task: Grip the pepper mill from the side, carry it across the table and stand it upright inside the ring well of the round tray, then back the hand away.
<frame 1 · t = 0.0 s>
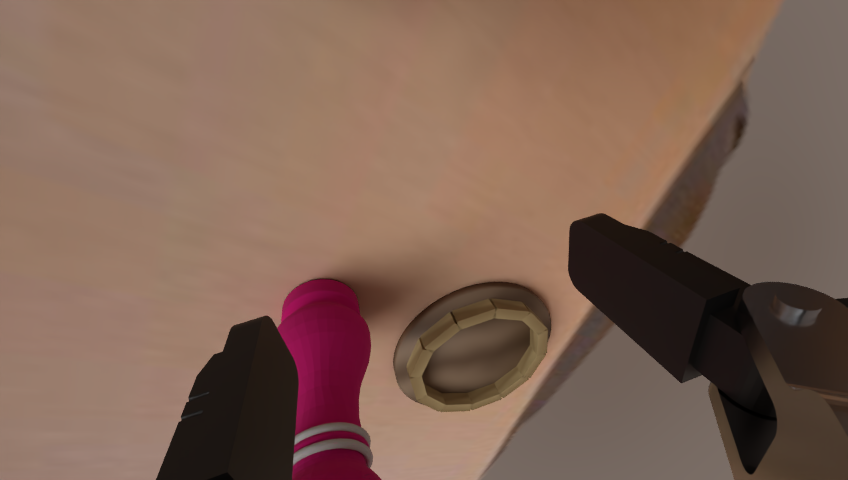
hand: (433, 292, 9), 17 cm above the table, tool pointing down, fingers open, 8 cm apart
pepper mill: (321, 305, 30), on the table
tray: (473, 347, 38), on the table
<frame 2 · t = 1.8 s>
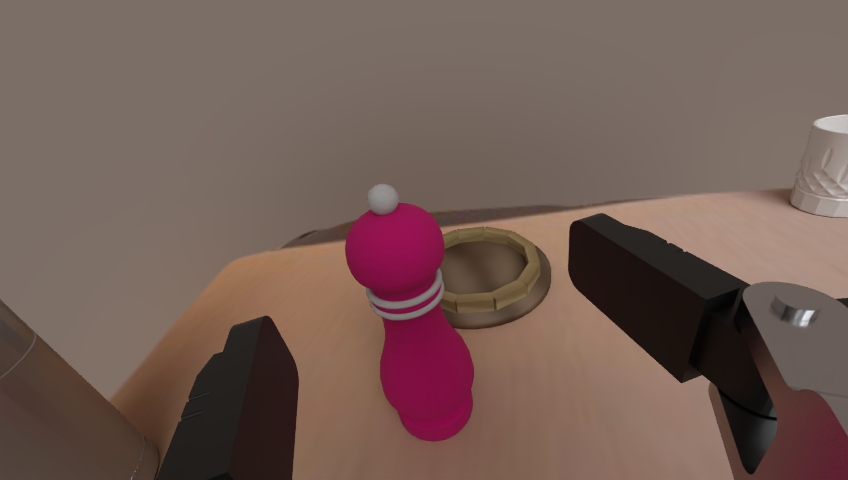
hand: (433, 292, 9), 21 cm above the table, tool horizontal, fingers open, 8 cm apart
pepper mill: (436, 405, 29), on the table
white cup: (826, 206, 43), on the table
tray: (474, 275, 43), on the table
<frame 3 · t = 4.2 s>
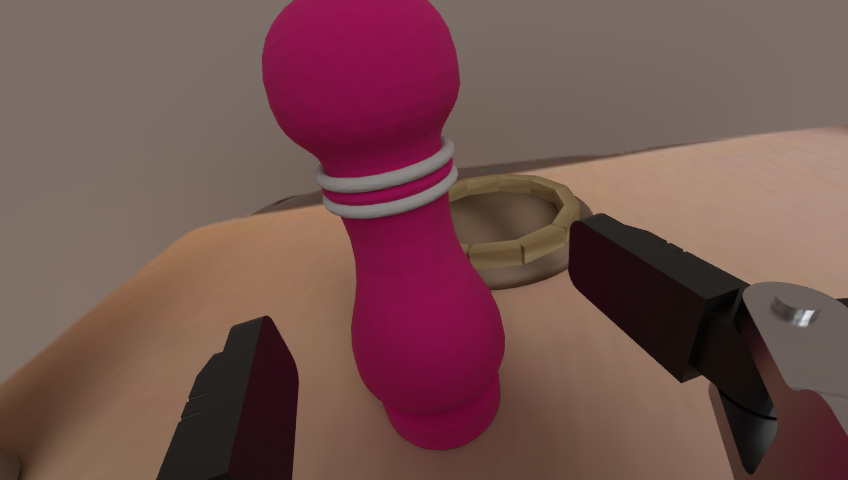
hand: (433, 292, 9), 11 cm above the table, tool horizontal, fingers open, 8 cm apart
pepper mill: (443, 394, 19), on the table
tray: (489, 229, 33), on the table
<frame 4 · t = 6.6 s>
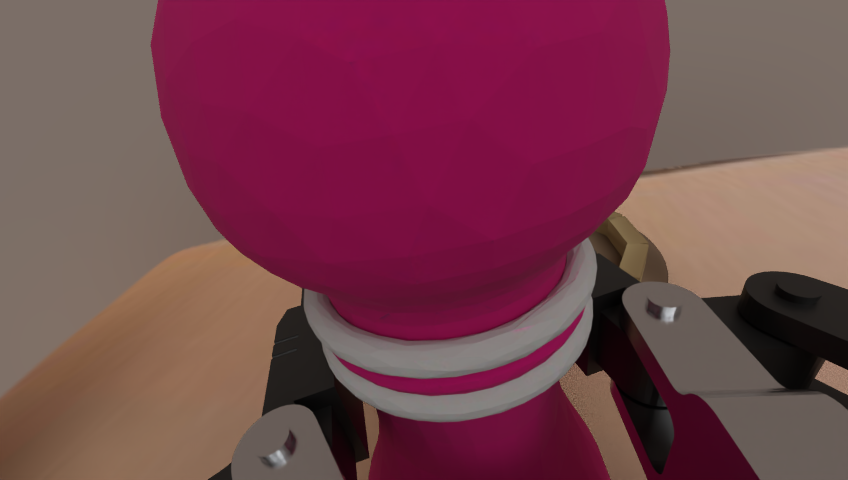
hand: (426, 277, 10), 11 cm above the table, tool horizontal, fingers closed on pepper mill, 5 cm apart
tray: (526, 267, 27), on the table
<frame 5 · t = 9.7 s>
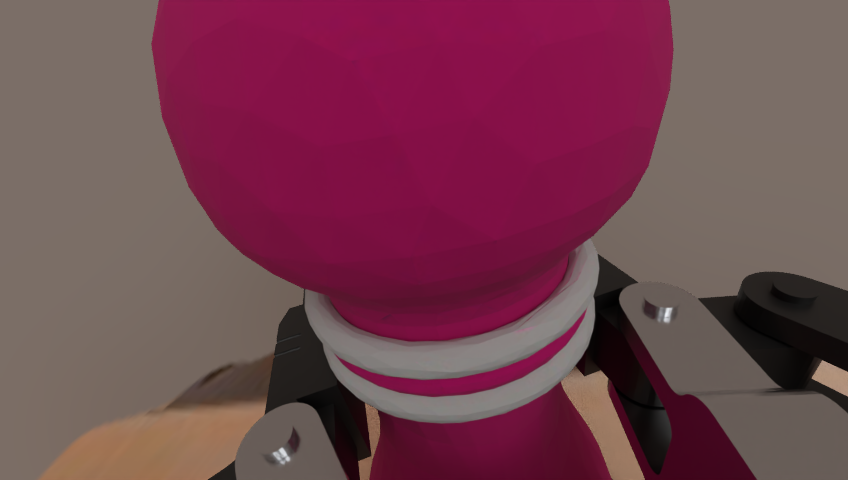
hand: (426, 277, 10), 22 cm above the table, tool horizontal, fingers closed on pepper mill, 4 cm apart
when the fingers open (13 cm above the table, at t = 12.3 s): pepper mill moves 3 cm, resting on tray.
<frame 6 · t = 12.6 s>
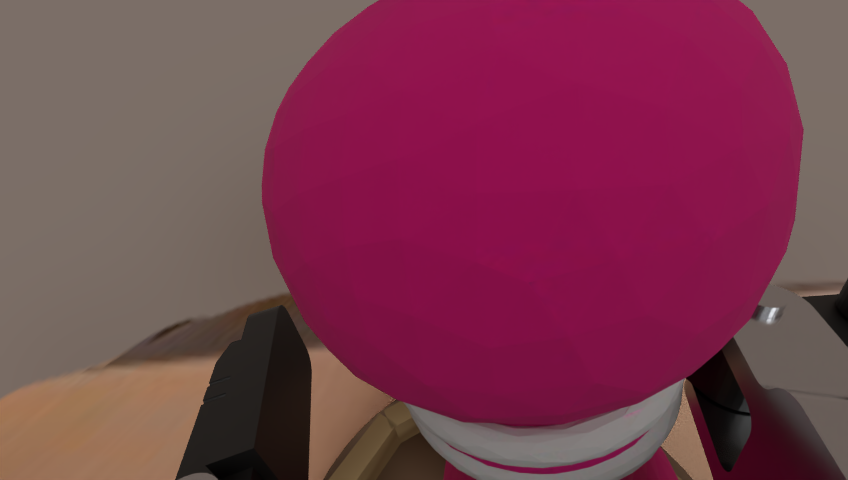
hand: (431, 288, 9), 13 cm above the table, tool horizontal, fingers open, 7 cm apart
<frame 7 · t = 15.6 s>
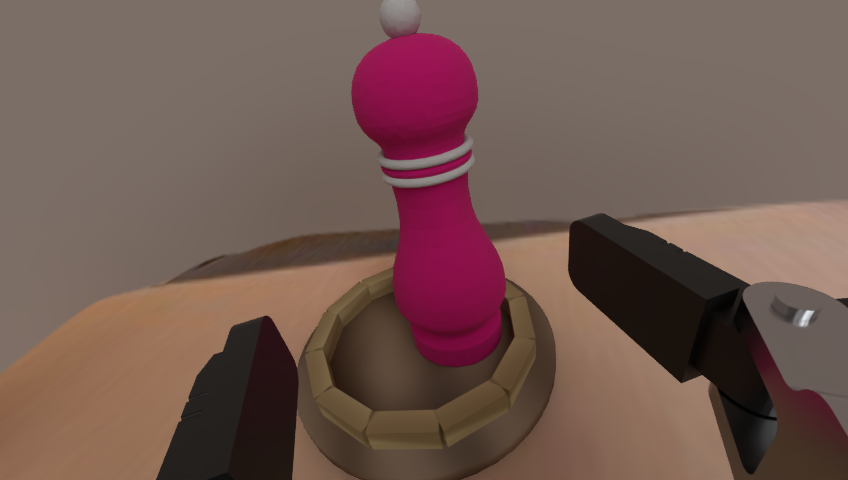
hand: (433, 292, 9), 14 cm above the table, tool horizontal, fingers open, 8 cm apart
pepper mill: (458, 333, 25), point 1 cm above the table, touching tray
tray: (423, 348, 25), on the table
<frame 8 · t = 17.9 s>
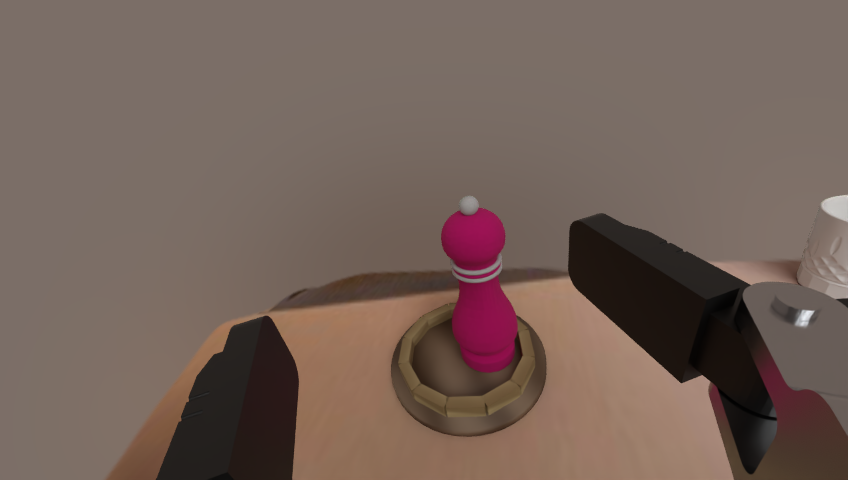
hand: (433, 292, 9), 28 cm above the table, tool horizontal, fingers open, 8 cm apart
pepper mill: (487, 352, 41), point 1 cm above the table, touching tray
white cup: (835, 287, 41), on the table
tray: (466, 360, 41), on the table
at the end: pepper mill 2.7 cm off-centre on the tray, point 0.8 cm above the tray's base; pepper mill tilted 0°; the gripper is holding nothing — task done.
